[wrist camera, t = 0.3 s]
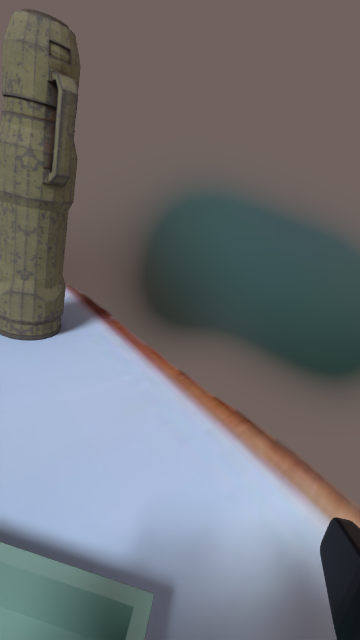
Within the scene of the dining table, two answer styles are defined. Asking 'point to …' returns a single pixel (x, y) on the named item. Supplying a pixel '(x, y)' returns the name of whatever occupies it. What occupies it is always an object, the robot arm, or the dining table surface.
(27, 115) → the thermos
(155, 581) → the dining table surface
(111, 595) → the tote
